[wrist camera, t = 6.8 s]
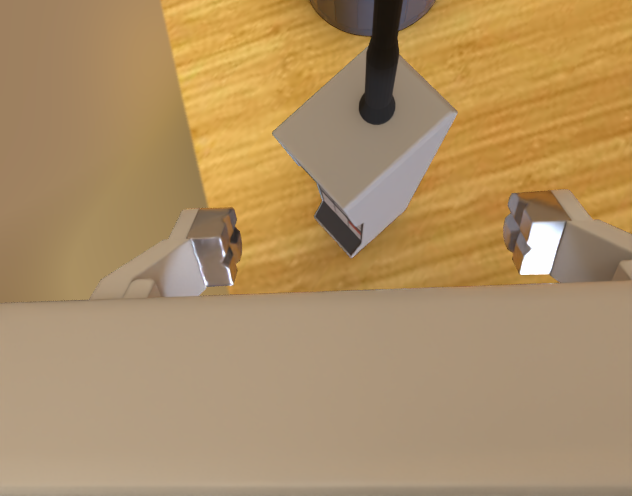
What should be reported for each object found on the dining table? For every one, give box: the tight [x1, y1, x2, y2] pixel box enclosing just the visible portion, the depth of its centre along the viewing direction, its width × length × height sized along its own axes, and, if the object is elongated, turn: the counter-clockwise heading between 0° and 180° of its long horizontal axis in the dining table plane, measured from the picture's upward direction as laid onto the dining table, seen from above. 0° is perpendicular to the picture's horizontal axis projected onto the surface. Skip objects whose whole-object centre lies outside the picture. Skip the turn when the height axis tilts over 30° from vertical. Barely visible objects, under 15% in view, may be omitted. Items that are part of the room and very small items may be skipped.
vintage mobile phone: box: [272, 0, 458, 258], centre depth 19 cm, size 4×5×25 cm
